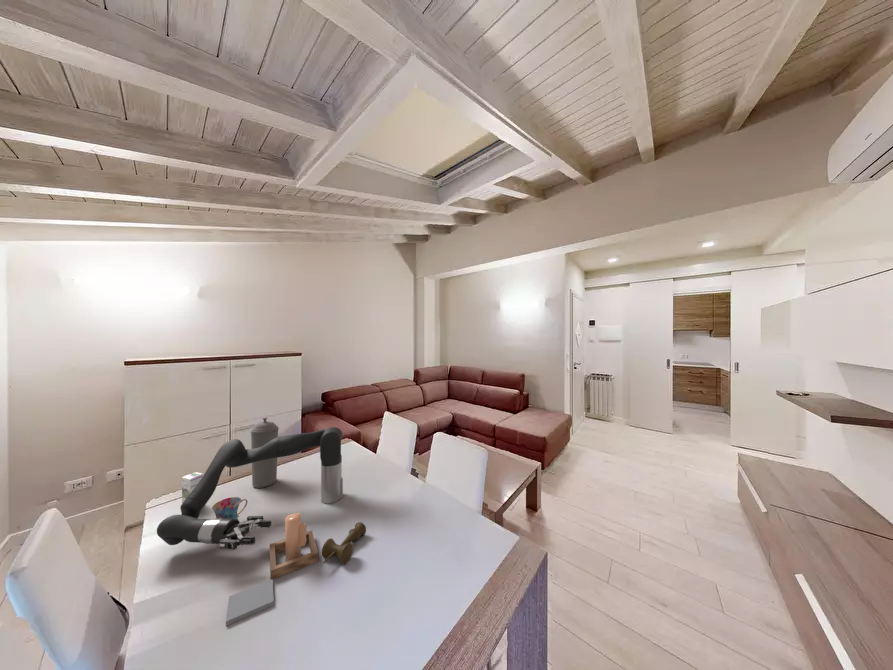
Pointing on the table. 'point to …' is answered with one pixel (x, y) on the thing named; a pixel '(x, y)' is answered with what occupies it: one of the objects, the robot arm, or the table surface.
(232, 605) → the slate mat
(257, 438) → the canister
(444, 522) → the table surface
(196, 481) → the syrup box
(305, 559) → the walnut collar
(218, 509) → the mug
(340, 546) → the kendama
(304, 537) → the peach cylinder post
